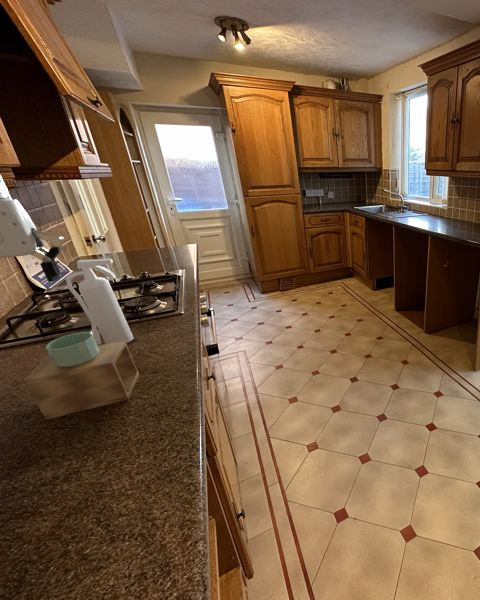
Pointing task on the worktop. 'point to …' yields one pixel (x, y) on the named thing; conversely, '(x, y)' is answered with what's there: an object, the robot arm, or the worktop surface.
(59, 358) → the bowl
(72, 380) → the wooden box
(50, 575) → the worktop surface
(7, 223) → the robot arm
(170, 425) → the worktop surface
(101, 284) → the fire extinguisher
